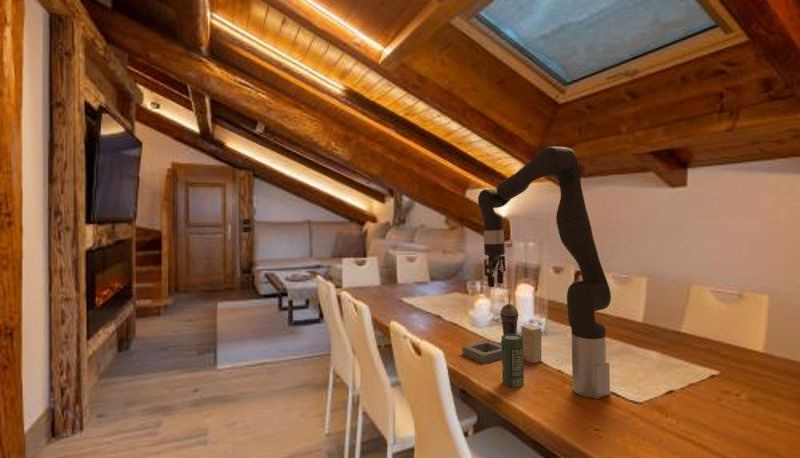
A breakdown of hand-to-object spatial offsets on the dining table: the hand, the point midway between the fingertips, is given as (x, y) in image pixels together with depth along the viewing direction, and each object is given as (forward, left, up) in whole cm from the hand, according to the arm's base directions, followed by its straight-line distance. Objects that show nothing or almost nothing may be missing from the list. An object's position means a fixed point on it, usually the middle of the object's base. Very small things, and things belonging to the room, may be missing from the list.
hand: (496, 285), depth 159 cm
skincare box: (-12, -5, -27) cm, 30 cm away
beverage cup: (+7, -13, -27) cm, 30 cm away
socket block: (+1, +5, -26) cm, 27 cm away
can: (-23, +15, -27) cm, 38 cm away
